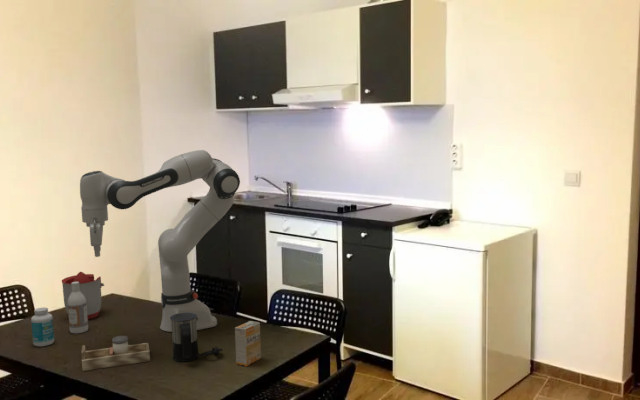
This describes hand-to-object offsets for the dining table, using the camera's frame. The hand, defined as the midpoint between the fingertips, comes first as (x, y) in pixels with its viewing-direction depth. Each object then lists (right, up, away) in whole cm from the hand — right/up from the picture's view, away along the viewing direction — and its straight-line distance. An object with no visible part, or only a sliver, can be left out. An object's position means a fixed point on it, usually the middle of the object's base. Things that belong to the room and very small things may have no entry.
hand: (97, 253), depth 226 cm
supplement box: (+57, -36, -14) cm, 68 cm away
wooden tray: (+10, -37, -10) cm, 39 cm away
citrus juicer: (-20, -31, +41) cm, 55 cm away
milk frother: (+38, -36, -8) cm, 53 cm away
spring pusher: (+9, -35, -11) cm, 38 cm away
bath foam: (-16, -33, +22) cm, 43 cm away
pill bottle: (-24, -35, +9) cm, 43 cm away
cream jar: (+12, -35, -10) cm, 38 cm away
